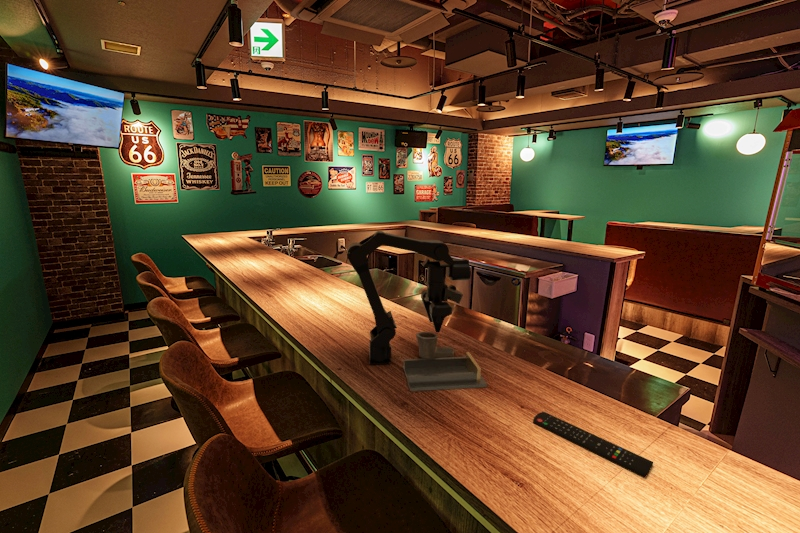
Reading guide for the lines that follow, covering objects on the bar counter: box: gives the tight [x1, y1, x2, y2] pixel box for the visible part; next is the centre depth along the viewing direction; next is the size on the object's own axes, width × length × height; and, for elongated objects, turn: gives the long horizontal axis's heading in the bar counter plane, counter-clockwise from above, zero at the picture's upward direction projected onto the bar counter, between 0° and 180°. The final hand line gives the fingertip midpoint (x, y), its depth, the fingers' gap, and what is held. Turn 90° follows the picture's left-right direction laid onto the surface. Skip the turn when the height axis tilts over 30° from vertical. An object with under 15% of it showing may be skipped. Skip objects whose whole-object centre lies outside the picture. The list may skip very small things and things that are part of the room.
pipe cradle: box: [402, 351, 488, 392], centre depth 111 cm, size 22×14×5 cm, turn 97°
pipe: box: [415, 331, 455, 359], centre depth 123 cm, size 6×13×8 cm, turn 78°
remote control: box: [532, 411, 654, 478], centre depth 83 cm, size 5×24×1 cm, turn 43°
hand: (434, 326), depth 122 cm, fingers open, 9 cm apart
